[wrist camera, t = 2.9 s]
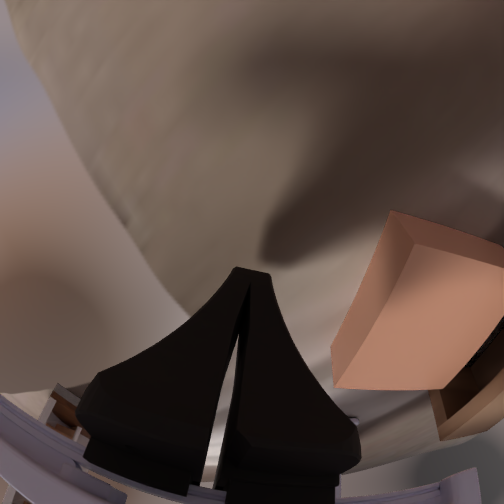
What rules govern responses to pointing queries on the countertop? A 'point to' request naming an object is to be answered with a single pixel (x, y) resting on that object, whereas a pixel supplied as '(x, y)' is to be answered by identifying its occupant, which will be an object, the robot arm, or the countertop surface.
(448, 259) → the terracotta brick
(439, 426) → the tan wooden box
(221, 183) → the countertop surface
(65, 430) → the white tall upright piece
